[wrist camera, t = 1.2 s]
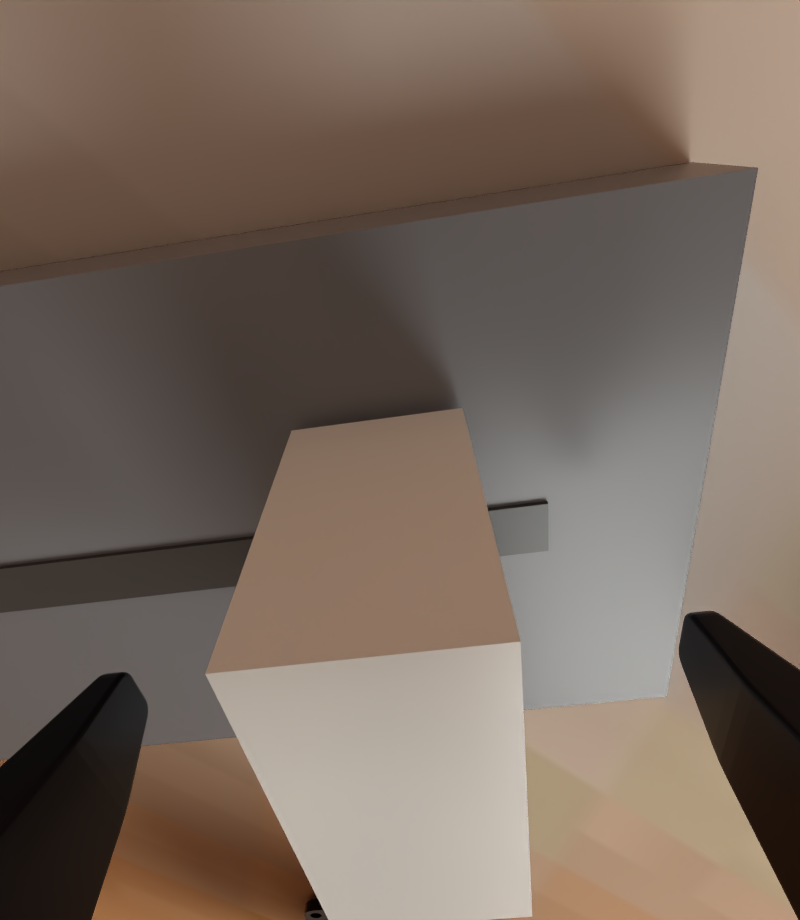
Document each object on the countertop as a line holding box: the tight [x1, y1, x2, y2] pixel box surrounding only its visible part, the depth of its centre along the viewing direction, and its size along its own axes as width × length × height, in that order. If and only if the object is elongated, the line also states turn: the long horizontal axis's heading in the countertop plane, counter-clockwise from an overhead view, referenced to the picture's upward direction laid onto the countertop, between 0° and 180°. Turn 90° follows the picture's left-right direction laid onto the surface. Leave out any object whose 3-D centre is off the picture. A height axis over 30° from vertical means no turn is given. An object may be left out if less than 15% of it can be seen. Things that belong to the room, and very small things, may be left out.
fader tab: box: [205, 408, 532, 920], centre depth 9 cm, size 6×3×5 cm, turn 8°
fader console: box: [0, 162, 758, 759], centre depth 13 cm, size 12×30×2 cm, turn 98°
